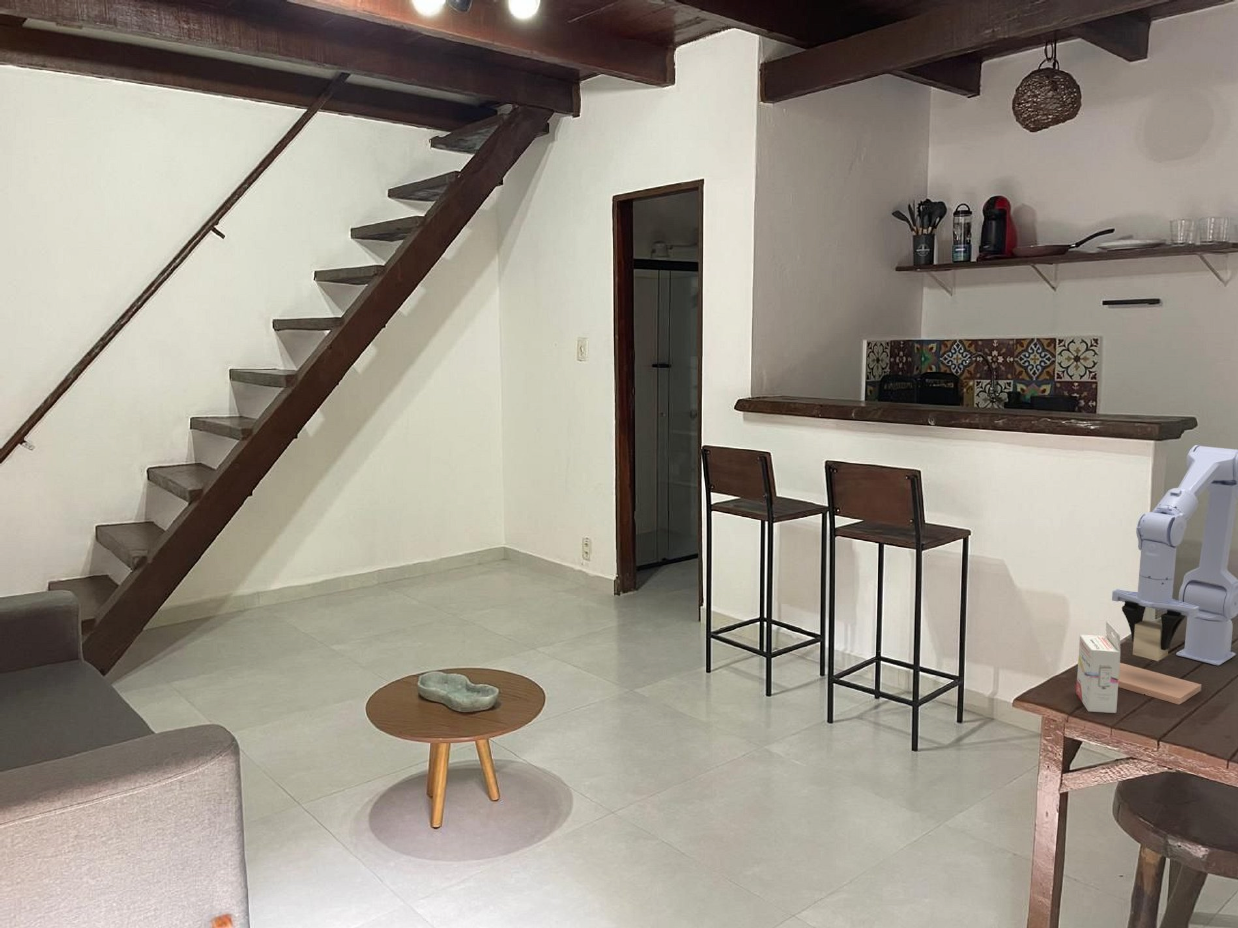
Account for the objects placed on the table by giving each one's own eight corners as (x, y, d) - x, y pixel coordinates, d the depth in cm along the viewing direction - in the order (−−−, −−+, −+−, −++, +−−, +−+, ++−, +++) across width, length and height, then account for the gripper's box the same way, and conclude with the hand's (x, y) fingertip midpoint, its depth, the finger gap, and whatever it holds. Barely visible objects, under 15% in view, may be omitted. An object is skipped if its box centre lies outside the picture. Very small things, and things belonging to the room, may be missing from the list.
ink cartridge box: (1074, 693, 175) (1079, 618, 173) (1102, 695, 174) (1108, 619, 172) (1087, 711, 167) (1092, 633, 164) (1117, 714, 166) (1123, 634, 163)
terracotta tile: (1118, 667, 187) (1118, 662, 187) (1200, 690, 175) (1201, 684, 175) (1095, 680, 181) (1095, 674, 181) (1179, 704, 169) (1179, 698, 169)
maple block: (1142, 649, 180) (1145, 619, 180) (1167, 655, 177) (1170, 625, 176) (1132, 654, 178) (1135, 624, 177) (1157, 660, 174) (1160, 630, 173)
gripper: (1107, 571, 178) (1101, 639, 180) (1190, 588, 167) (1183, 660, 169) (1123, 565, 182) (1118, 631, 184) (1205, 581, 171) (1199, 651, 173)
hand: (1150, 645), depth 177 cm, fingers closed on maple block, 4 cm apart
